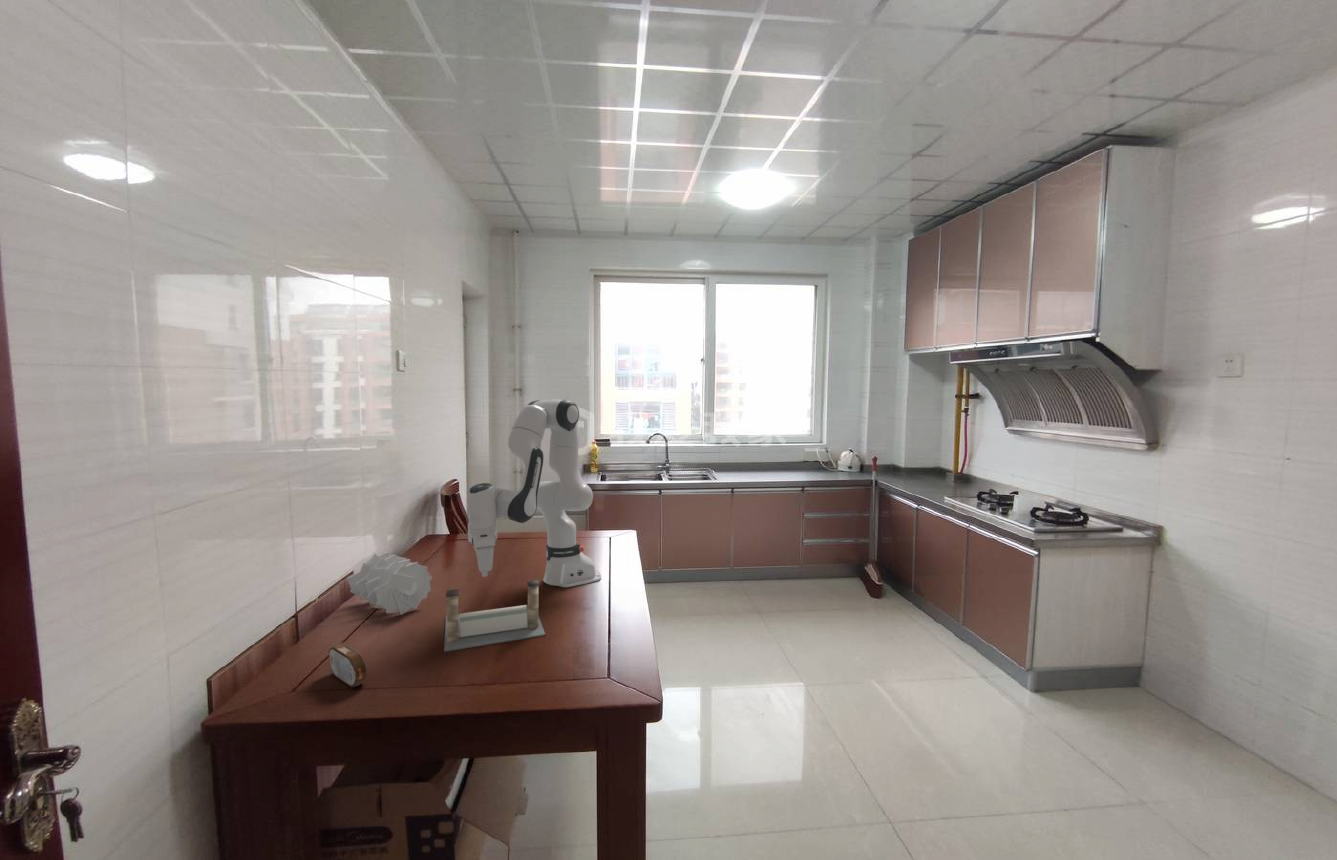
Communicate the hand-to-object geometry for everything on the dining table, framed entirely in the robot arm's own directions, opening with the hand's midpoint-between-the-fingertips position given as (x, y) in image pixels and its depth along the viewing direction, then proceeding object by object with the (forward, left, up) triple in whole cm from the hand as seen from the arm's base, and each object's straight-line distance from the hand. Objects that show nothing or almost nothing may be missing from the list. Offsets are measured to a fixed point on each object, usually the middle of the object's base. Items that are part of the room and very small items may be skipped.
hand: (484, 575), depth 166 cm
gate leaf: (-2, +15, -13) cm, 19 cm away
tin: (+34, +28, -14) cm, 46 cm away
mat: (-2, +9, -14) cm, 16 cm away
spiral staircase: (+29, -19, -14) cm, 38 cm away
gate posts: (-2, +15, -14) cm, 20 cm away
